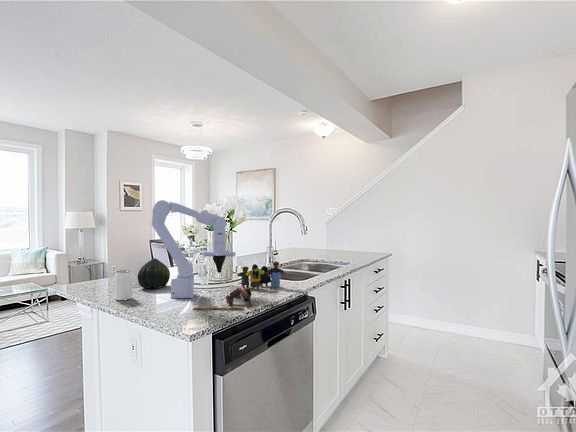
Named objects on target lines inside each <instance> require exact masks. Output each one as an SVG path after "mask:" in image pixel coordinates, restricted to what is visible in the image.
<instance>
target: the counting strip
mask: <svg viewBox="0 0 576 432" xmlns="http://www.w3.org/2000/svg"><path fill="white" fill-rule="evenodd" d="M243 309H244V306H243V305H237V306H236V305H235V306H234V305H232V306H231V305H228V306H227V305H223V306H222V305H219V306H218V305H217V306H213V305H212V306H210V305H208V306H207V305H206V306H205V305H204V306H203V305H202V306H201V305H197V306H196V305H195V306H193V308H192V311H242V310H243Z"/></svg>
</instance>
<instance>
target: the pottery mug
mask: <svg viewBox="0 0 576 432" xmlns="http://www.w3.org/2000/svg"><path fill="white" fill-rule="evenodd" d="M240 294H241V295H242V296H243V297H240ZM251 298H252V291H251V289H250V288H245V289H242V287H241V288H238V289H236V290H234V291H233V292H231V293H230V292H229V294H227V296H225V299H226V304H228V305H231V304H233V303H234V299H235V300H241V299H243V301H244V303H245V306H246V308H247V310H248V309H249V308H250V307H252V306H253V304H252V301H251V300H252V299H251Z"/></svg>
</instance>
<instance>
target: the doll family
mask: <svg viewBox="0 0 576 432" xmlns="http://www.w3.org/2000/svg"><path fill="white" fill-rule="evenodd" d="M272 265H273V268H268V267H267V266H266V265H263V266H262V267H261V268H259V267H258V266H259V265H257V264H256V263H254V264H252V267H251V270H250V269H249V267H248V266H242V267H241V270H242V271H241V272H239V273H237V275H236V276H237V277H241V282H240V284H241V289H242V290H245V289H251V290H260V288H263V287H269V284H270V288H275V287H276V288H280V287H281V285H280V284H281V281H280V280H281V279H280V278H281V277H280V274H283V275H286V274H287V273H286V272H285V271H284V270H283V269H281V268H279V265H280V262H279V261H273V262H272Z"/></svg>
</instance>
